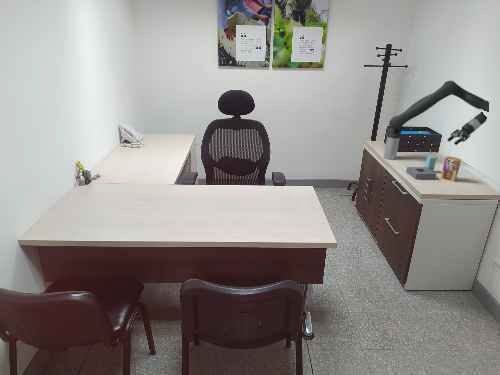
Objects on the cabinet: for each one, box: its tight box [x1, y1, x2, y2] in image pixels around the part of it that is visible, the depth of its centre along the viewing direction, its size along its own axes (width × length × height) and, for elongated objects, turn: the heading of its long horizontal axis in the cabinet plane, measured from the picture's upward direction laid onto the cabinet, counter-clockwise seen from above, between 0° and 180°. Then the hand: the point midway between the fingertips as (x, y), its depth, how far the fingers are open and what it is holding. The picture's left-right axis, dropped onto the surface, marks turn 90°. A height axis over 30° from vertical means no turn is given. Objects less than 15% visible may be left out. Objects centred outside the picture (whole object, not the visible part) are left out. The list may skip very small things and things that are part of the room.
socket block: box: [405, 166, 437, 180], centre depth 253 cm, size 14×14×4 cm
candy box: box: [440, 155, 462, 182], centre depth 246 cm, size 9×4×15 cm, turn 39°
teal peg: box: [424, 155, 437, 172], centre depth 261 cm, size 4×4×11 cm
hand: (451, 142), depth 255 cm, fingers open, 8 cm apart
